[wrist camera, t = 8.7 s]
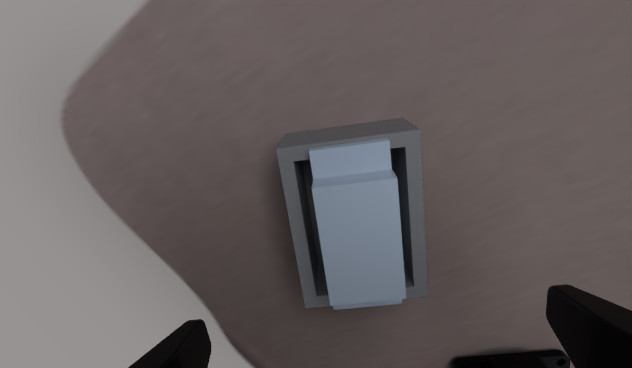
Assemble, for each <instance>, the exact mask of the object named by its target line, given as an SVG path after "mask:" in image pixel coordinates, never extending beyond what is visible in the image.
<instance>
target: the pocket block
mask: <svg viewBox="0 0 632 368" xmlns="http://www.w3.org/2000/svg"><path fill="white" fill-rule="evenodd" d="M383 138H388V139H389V140H390V153H391V165H392V170H393V172H394V173H395V175H396V176H397V180H398V193H399V207H400V220H401V234H402V247H403V261H404V274H405V288H406V299H412V298H423V297H428V278H427V257H426V236H425V215H424V194H423V173H422V152H421V131H420V129H419V128H418V127H416V126H414V125H413V124H411V123H410V122H408V121H406V120H405V119H403V118H399V119H392V120H385V121H378V122H370V123H363V124H356V125H349V126H341V127H334V128H327V129H320V130H313V131H305V132H298V133H291V134H286V135H285V137H284V138H283V139H282V141H281V142H280V144H279V145H278V147H277V148H276V152H277V157H278V163H279V168H280V174H281V179H282V184H283V190H284V195H285V201H286V206H287V211H288V217H289V222H290V228H291V233H292V239H293V244H294V249H295V255H296V260H297V266H298V271H299V276H300V282H301V287H302V293H303V298H304V303H305V308H316V307H327V306H330V301H329V294H328V288H327V282H326V276H325V269H324V263H323V257H322V250H321V244H320V238H319V231H318V225H317V219H316V213H315V206H314V200H313V194H312V183H313V175H312V168H311V162H310V156H309V149H310V148H317V147H324V146H331V145H339V144H346V143H354V142H361V141H368V140H376V139H383Z"/></svg>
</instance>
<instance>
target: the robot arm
mask: <svg viewBox="0 0 632 368" xmlns="http://www.w3.org/2000/svg"><path fill="white" fill-rule="evenodd" d="M546 317H547V320H548V322H549V324H550V326H551V328H552V329H553V331H554V333H555V334H556V336H557V338H558V339H559V341H560V343H561V345H562V346H563V348H564V350H565V351H566V353H567V355H568V356H569V357H568V356H567V355H566V354H565V353H564V352H563V351H561V350H552V351H540V352H527V353H514V354H501V355H489V356H476V357H463V358H457V359H455V360H454V361H453V363H452V368H460V367H461V368H570V360H571V361H572V363H573V365H574V367H575V368H632V311H631V310H629V309H626V308H624V307H621V306H619V305H616V304H614V303H612V302H609V301H607V300H604V299H602V298H600V297H597V296H595V295H592V294H590V293H588V292H585V291H583V290H580V289H578V288H575V287H573V286H571V285H555V286H551V287H549V289H548V294H547V306H546ZM210 354H211V342H210V338H209V335H208V332H207V328H206V325H205V323H204V321H203V320H201V319H199V320H189V321H187V322H185V323H184V324H183V325H182V326H180V327H179V328H178V329H176V330H175V331H174V332H173V333H171V334H170V335H169V336H168V337H166V338H165V339H164V340H162V341H161V342H160V343H159V344H157V345H156V346H155V347H154V348H152V349H151V350H150V351H149V352H148V353H146V354H145V355H144V356H142V357H141V358H140V359H139V360H137V361H136V362H135V363H134V364H132V365H131V366H130V367H129V368H207V367H208V363H209V358H210ZM569 358H570V359H569Z"/></svg>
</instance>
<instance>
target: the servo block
mask: <svg viewBox="0 0 632 368" xmlns="http://www.w3.org/2000/svg"><path fill="white" fill-rule="evenodd" d="M309 156H310V162H311V168H312V175H313V183H312V194H313V200H314V206H315V213H316V219H317V225H318V231H319V238H320V244H321V250H322V257H323V263H324V269H325V276H326V282H327V288H328V294H329V301H330V306H333V310H339V309H350V308H360V307H371V306H381V305H392V304H402V299H406V288H405V274H404V261H403V247H402V234H401V220H400V207H399V193H398V180H397V176H396V175H395V173H394V172H393V170H392V165H391V153H390V140H389V139H388V138H383V139H376V140H368V141H361V142H354V143H346V144H339V145H331V146H324V147H317V148H310V149H309Z"/></svg>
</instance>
